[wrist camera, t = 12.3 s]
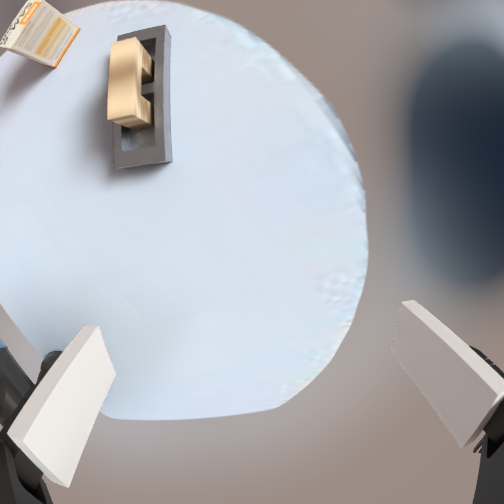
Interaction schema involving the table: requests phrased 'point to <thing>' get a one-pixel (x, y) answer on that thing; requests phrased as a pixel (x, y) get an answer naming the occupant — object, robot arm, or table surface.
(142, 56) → the clip
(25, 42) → the supplement box
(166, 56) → the grey rectangular block
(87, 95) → the table surface
